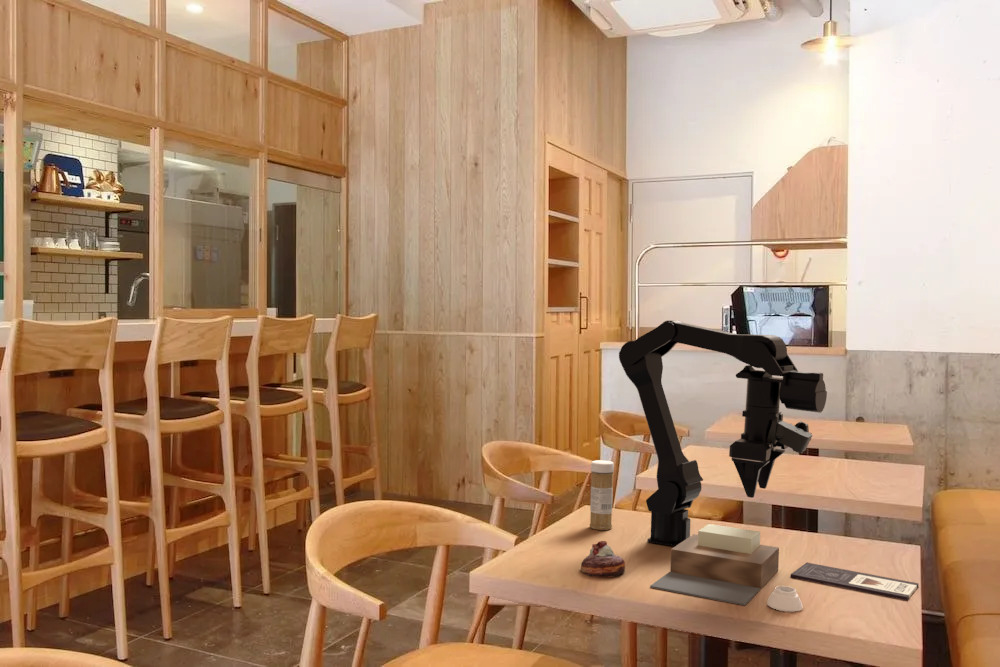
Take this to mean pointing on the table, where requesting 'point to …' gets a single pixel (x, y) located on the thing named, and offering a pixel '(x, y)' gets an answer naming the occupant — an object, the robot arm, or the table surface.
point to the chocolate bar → (856, 581)
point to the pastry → (602, 562)
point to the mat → (706, 588)
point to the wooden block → (725, 563)
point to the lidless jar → (785, 599)
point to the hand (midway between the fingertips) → (756, 492)
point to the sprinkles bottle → (601, 494)
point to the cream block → (729, 538)
